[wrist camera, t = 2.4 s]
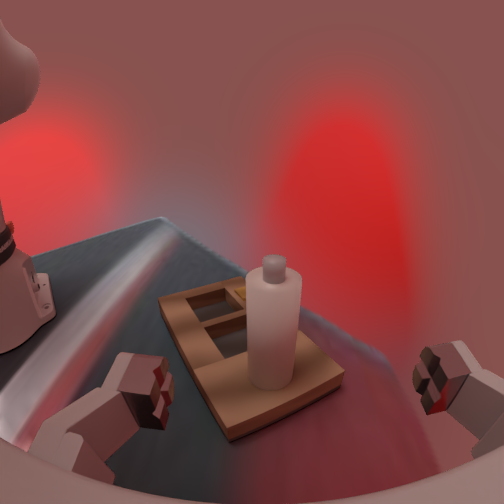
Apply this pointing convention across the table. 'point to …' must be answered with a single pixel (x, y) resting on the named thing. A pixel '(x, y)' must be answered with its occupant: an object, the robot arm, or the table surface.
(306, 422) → the table surface
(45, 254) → the table surface
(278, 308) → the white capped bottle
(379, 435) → the table surface
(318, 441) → the table surface
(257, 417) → the board
